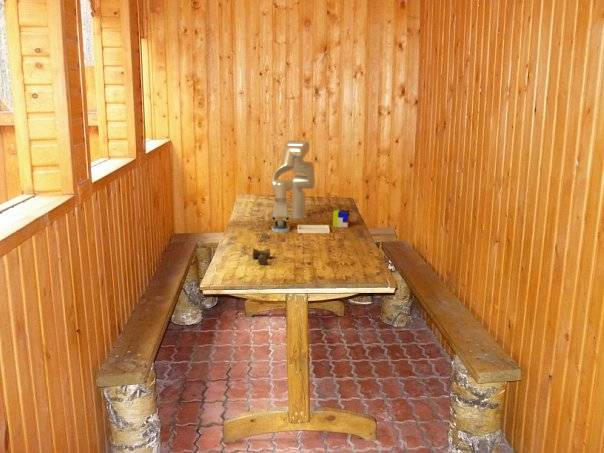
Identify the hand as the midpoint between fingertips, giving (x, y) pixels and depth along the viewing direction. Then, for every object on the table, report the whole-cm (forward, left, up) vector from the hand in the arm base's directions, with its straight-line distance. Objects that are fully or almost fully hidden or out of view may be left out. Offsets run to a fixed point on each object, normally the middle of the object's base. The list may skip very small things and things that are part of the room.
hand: (280, 226), depth 397 cm
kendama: (+71, -9, -3) cm, 72 cm away
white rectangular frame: (0, +22, -3) cm, 22 cm away
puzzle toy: (-17, +42, -3) cm, 45 cm away
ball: (0, 0, -1) cm, 1 cm away
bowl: (0, 0, -3) cm, 3 cm away
